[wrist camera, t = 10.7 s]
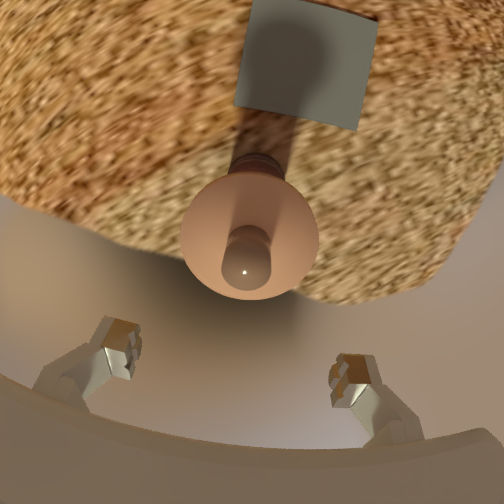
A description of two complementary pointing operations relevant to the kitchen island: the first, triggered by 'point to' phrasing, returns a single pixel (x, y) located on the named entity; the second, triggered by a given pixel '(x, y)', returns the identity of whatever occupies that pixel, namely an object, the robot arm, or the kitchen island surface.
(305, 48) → the mat
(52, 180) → the kitchen island surface
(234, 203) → the lid
